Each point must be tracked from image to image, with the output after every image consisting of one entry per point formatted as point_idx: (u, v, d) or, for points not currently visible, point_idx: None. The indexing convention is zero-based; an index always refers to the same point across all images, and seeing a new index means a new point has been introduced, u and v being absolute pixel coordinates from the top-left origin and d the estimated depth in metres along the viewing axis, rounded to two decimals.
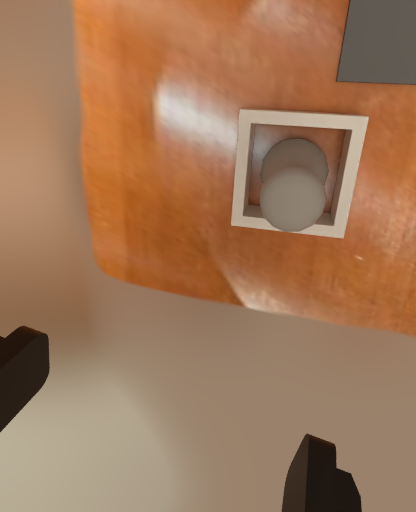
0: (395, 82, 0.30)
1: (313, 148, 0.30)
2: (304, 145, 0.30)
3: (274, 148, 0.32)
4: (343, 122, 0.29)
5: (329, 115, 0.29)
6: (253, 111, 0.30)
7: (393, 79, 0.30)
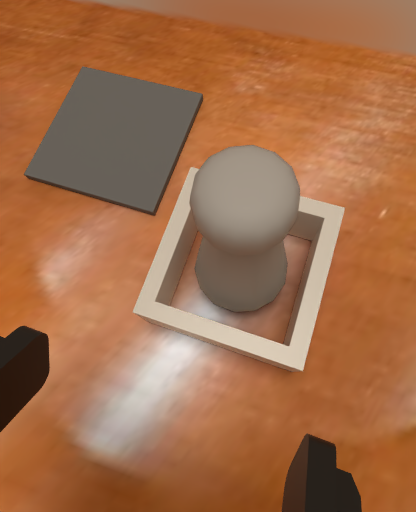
0: (173, 159, 0.28)
1: None
2: None
3: (200, 281, 0.23)
4: (189, 192, 0.24)
5: (176, 206, 0.23)
6: (141, 294, 0.22)
7: (170, 161, 0.28)
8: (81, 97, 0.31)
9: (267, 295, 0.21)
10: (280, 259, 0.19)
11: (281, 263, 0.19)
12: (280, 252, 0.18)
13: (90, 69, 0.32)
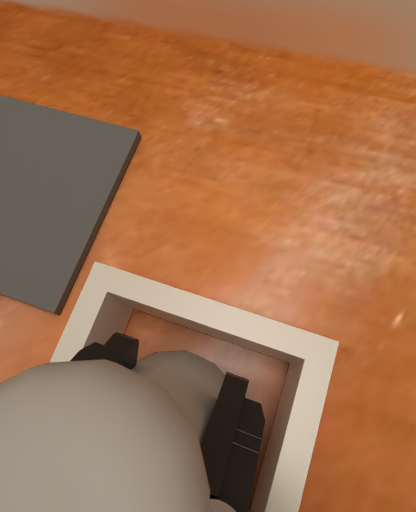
0: (91, 230, 0.19)
1: None
2: None
3: None
4: (88, 305, 0.15)
5: (66, 329, 0.14)
6: None
7: (85, 232, 0.19)
8: None
9: None
10: None
11: None
12: None
13: None
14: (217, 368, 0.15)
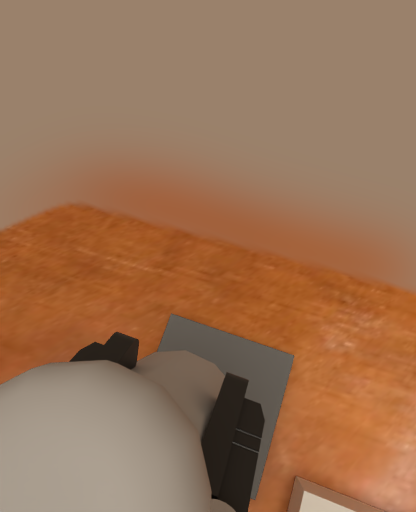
0: (271, 436, 0.29)
1: None
2: None
3: None
4: None
5: None
6: None
7: (268, 438, 0.29)
8: None
9: None
10: None
11: None
12: None
13: (179, 317, 0.32)
14: (217, 368, 0.15)
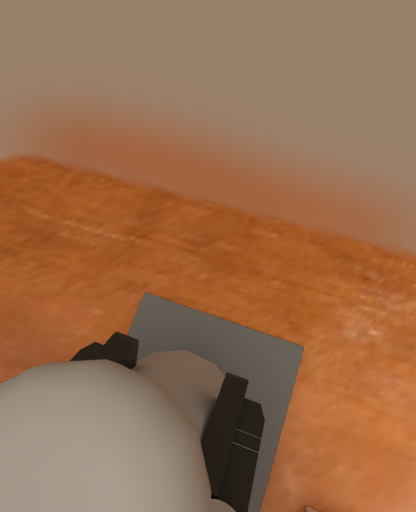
0: (273, 453, 0.22)
1: None
2: None
3: None
4: None
5: None
6: None
7: (269, 455, 0.22)
8: (145, 342, 0.24)
9: None
10: None
11: None
12: None
13: (155, 297, 0.25)
14: (217, 368, 0.15)
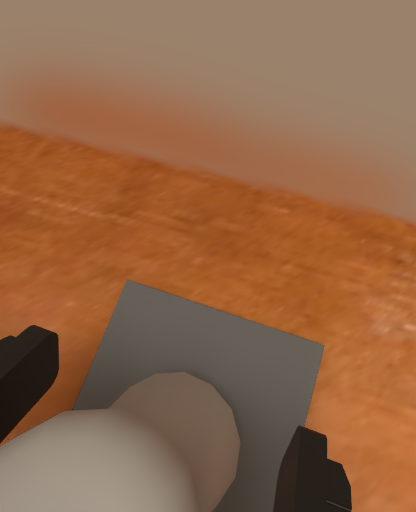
0: None
1: (122, 395, 0.15)
2: None
3: None
4: None
5: None
6: None
7: None
8: (127, 340, 0.19)
9: None
10: (208, 506, 0.11)
11: (214, 500, 0.12)
12: None
13: (139, 286, 0.20)
14: (214, 389, 0.16)
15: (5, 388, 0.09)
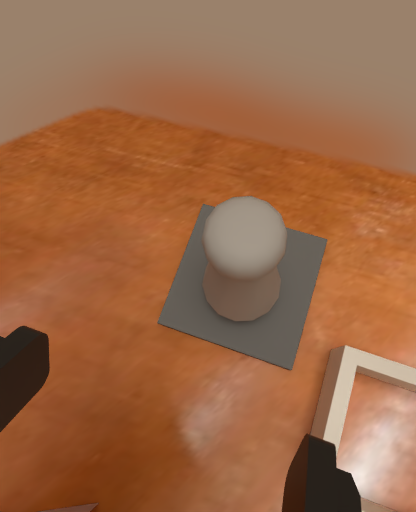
0: (306, 312, 0.29)
1: None
2: None
3: (207, 295, 0.27)
4: (347, 374, 0.24)
5: (336, 389, 0.24)
6: None
7: (303, 314, 0.29)
8: None
9: (263, 308, 0.26)
10: (273, 280, 0.23)
11: (274, 282, 0.24)
12: (273, 275, 0.22)
13: (211, 207, 0.32)
14: None
15: None
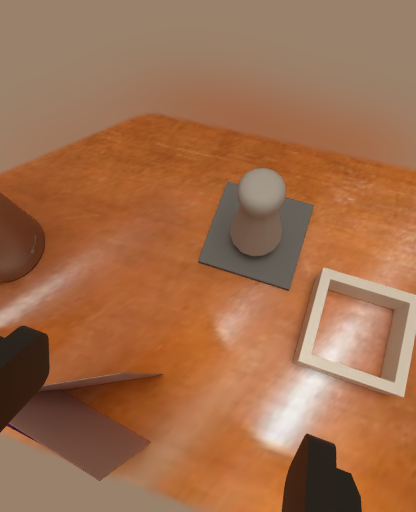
0: (299, 252, 0.43)
1: None
2: None
3: (233, 238, 0.41)
4: (324, 284, 0.38)
5: (317, 293, 0.38)
6: (302, 349, 0.36)
7: (297, 253, 0.43)
8: (229, 205, 0.46)
9: (270, 245, 0.40)
10: (277, 223, 0.37)
11: (278, 226, 0.38)
12: (277, 219, 0.36)
13: (233, 184, 0.46)
14: None
15: None
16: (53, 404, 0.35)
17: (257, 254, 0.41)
